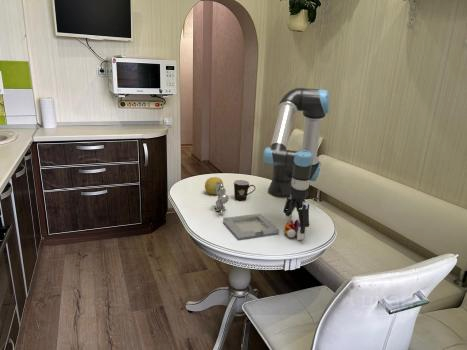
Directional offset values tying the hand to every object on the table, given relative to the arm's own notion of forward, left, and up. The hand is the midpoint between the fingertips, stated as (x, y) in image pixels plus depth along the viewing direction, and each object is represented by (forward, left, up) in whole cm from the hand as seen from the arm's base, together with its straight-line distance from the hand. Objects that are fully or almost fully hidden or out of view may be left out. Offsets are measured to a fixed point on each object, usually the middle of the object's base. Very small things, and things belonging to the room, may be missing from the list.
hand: (293, 233), depth 159 cm
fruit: (+17, -59, -1) cm, 61 cm away
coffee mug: (+4, -46, -1) cm, 46 cm away
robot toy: (+22, -34, -1) cm, 40 cm away
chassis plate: (+16, -12, -1) cm, 20 cm away
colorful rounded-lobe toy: (0, 0, -1) cm, 1 cm away
